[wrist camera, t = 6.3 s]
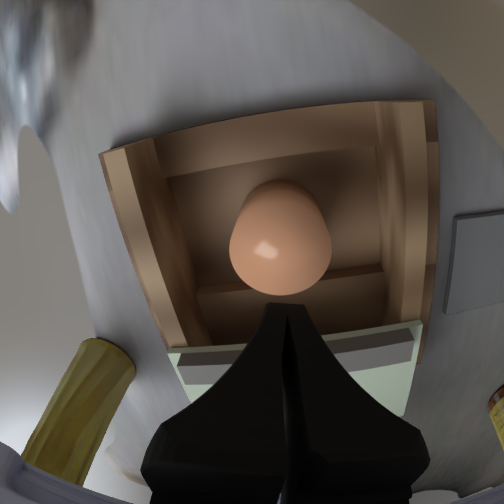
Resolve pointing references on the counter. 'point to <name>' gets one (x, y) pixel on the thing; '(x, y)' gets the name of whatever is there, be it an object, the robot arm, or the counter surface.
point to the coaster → (476, 262)
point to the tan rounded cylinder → (280, 239)
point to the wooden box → (309, 176)
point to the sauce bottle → (498, 413)
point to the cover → (344, 349)
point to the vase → (80, 411)
